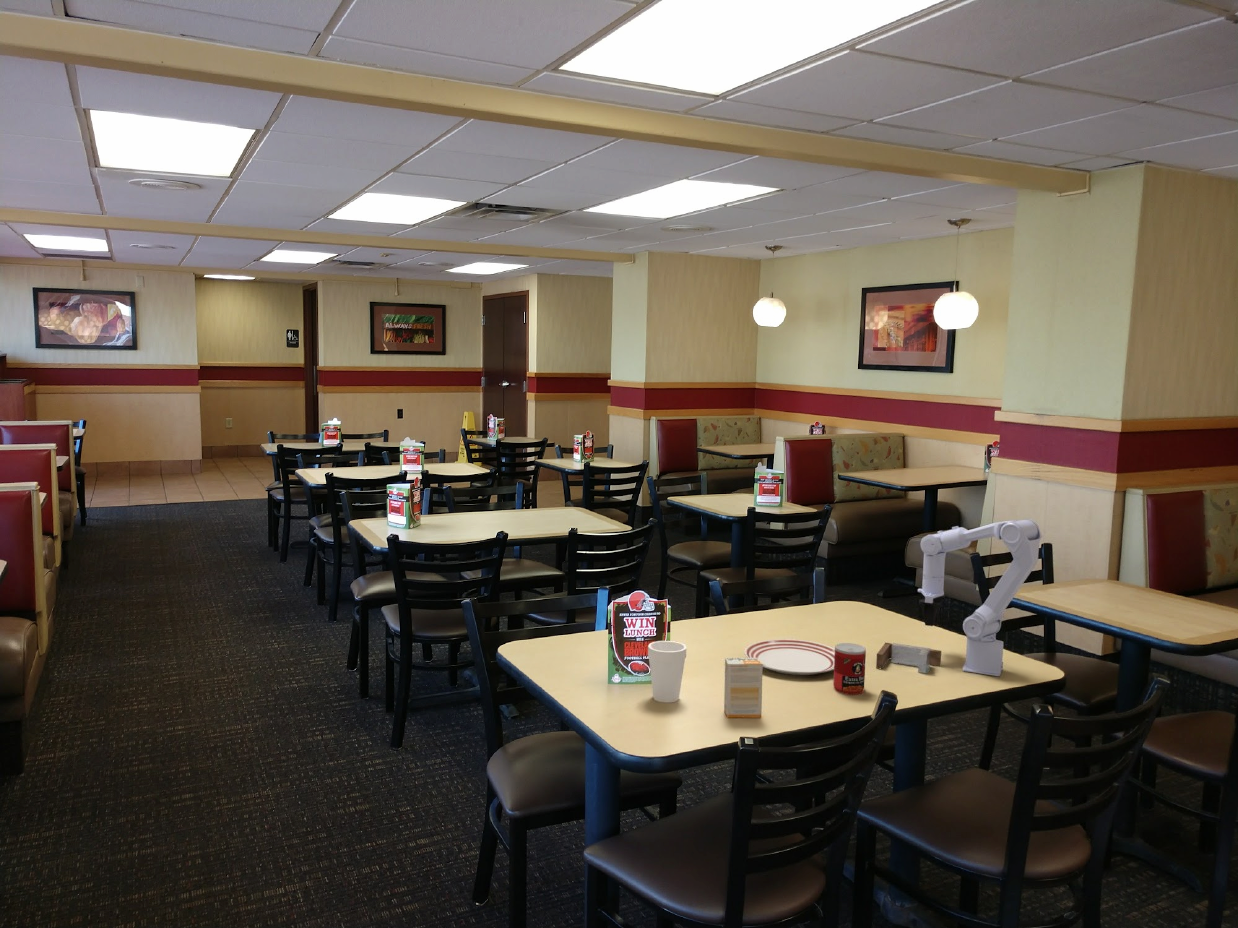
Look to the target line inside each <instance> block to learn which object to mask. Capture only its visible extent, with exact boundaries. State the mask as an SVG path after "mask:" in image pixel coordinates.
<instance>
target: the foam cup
mask: <svg viewBox="0 0 1238 928" xmlns="http://www.w3.org/2000/svg"><path fill="white" fill-rule="evenodd" d="M687 649H688V647H687V645H686V644H684V643H682V642H678V641H673V640H657V641H653V642H651V643H650V642H649V644H648V646H647V656H648V662H649V670H650V679H651V680H650V681H651V689H652V691H651V692H652V697H653V699H654V700H655V701H656V702H659V703H665V704H667V703H675V702H677V701H678V700H680V694H681V688H682V681H683V675H684V669H685V668H684V667H685V661H686V658H687Z"/></svg>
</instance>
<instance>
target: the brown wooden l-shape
mask: <svg viewBox="0 0 1238 928" xmlns="http://www.w3.org/2000/svg"><path fill="white" fill-rule="evenodd" d="M892 644H893V643H892V642H884V644H883V645H882V647H880V649H879V650H878V652H877V653H876V663H875V665H876V666H875V667H876V669H879V668H881V669H880V670H882V669H883V668H884V666H885V665H886V664H887V662H888V661H889V660H890V658H891V657H892ZM885 663H886V664H885ZM941 665H942V650H940V649H933V648H931V649H930V666H936V667H941Z"/></svg>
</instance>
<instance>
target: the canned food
mask: <svg viewBox="0 0 1238 928" xmlns="http://www.w3.org/2000/svg"><path fill="white" fill-rule="evenodd" d="M834 649H835V656H834V670H833V688H834V689H835V691H836V692H838V693H841V694H845V695H858V694H861V693H863V692H864V690H865V679H866V678H865V675H866V657H867V656H866V655H867V651H866V647H865V646H863V645H860V644H856V643H851V642H842V643H841V642H840V643H837V644H836V645H835V646H834Z"/></svg>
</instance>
